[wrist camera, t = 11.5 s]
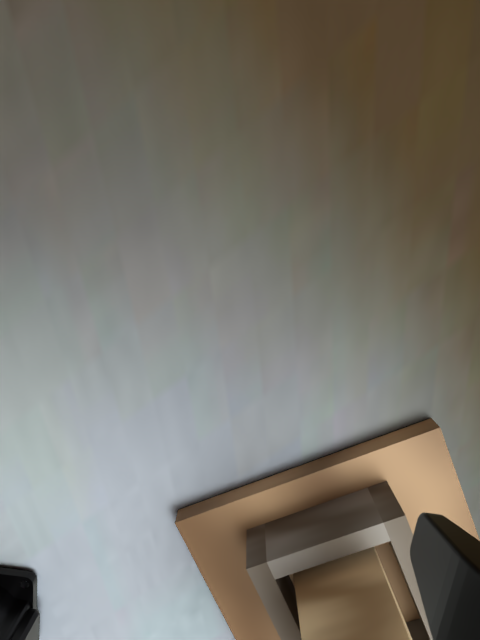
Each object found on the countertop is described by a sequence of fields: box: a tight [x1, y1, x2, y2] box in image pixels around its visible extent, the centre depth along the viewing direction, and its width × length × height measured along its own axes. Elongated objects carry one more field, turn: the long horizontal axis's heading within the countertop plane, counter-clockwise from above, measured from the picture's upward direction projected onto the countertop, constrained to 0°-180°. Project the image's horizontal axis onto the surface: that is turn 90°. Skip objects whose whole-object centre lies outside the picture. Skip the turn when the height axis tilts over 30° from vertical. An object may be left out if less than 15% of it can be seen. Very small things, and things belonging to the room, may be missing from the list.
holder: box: [175, 418, 480, 640], centre depth 21 cm, size 14×13×4 cm
